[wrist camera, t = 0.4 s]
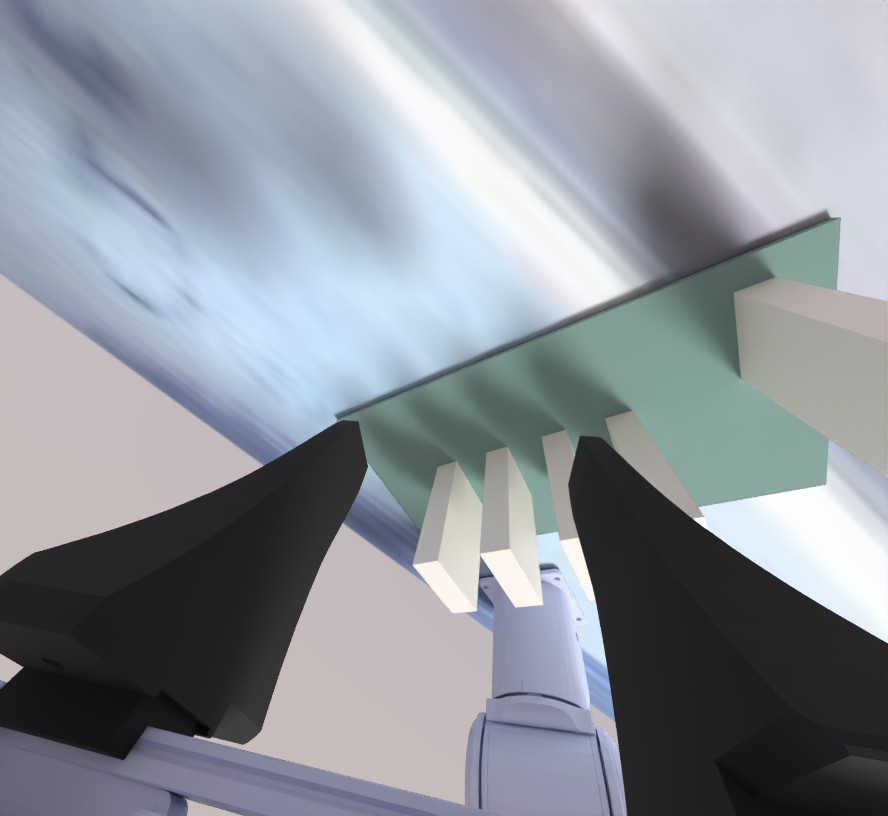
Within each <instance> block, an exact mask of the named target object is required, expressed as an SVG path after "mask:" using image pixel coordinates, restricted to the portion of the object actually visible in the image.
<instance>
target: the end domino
mask: <svg viewBox="0 0 888 816" xmlns="http://www.w3.org/2000/svg"><path fill="white" fill-rule="evenodd" d="M482 509H483V504H482V503H481V501H480V499H479V498H478V496H477V494H476V493H475V491H474V489H473V488H472V486H471V484H470V483H469V481H468V479H467V478H466V476H465V474H464V473H463V471H462V469H461V468H460V466H459V464H458V463H457V461H456V462H452V463H449V464H445V465H442V466H438V468H437V472H436V476H435V480H434V484H433V487H432V491H431V495H430V499H429V503H428V507H427V511H426V514H425V518H424V522H423V526H422V530H421V534H420V538H419V541H418V545H417V549H416V553H415V557H414V561H413V566H414V567H415V569H416V570H417V571H418V572H419V573H420V575H421V576H422V577H423V578H424V579H425V581H426V582H427V583H428V584H429V585H430V587H431V588H432V589H433V590H434V591H435V593H436V594H437V595H438V596H439V597H440V599H441V600H442V601H443V602H444V603H445V605H446V606H447V607H448V608H449V609H450V611H451V612H452V613H462V612H473V611H477V598H478V583H479V567H480V554H479V552H480V538H481V523H482Z"/></svg>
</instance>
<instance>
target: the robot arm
mask: <svg viewBox="0 0 888 816" xmlns="http://www.w3.org/2000/svg"><path fill="white" fill-rule="evenodd" d="M367 468H368V465H367V460H366V455H365V450H364V445H363V440H362V436H361V431H360V426H359V421H349V420H341V421H339V422H337V423H335V424H334V425H332V426H330V427H328V428H327V429H325V430H323V431H322V432H320V433H319V434H317V435H315V436H314V437H312V438H310V439H309V440H307V441H306V442H304V443H302V444H301V445H299V446H297V447H296V448H294V449H293V450H291V451H289V452H288V453H286V454H284V455H282V456H281V457H279V458H277V459H275V460H273V461H272V462H270V463H268V464H266V465H265V466H263V467H261V468H259V469H258V470H256V471H254V472H252V473H250V474H248V475H246V476H244V477H243V478H240V479H238V480H236V481H234V482H232V483H230V484H228V485H226V486H224V487H221V488H219V489H217V490H215V491H213V492H211V493H208V494H206V495H203V496H201V497H199V498H196V499H194V500H191V501H189V502H186V503H184V504H182V505H179V506H177V507H174V508H172V509H169V510H167V511H164V512H161V513H159V514H156V515H153V516H150V517H148V518H145V519H142V520H139V521H136V522H133V523H130V524H127V525H125V526H122V527H119V528H116V529H113V530H110V531H106V532H103V533H100V534H97V535H93V536H90V537H87V538H83V539H80V540H77V541H73V542H70V543H67V544H63V545H60V546H57V547H54V548H50V549H47V550H43V551H39V552H35V553H33V554H32V555H30V556H28V557H26V558H25V559H23V560H22V561H20V562H19V563H17V564H16V565H14V566H13V567H12V568H10V569H9V570H7V571H6V572H5V573H3V574H2V575H1V576H0V654H2V655H4V656H5V657H7V658H9V659H11V660H12V661H14V662H16V663H17V664H19V665H21V666H22V667H23V669H21V670H20V671H19V672H18V673H17V674H16V675H15V676H14V677H13V678H12V679H11V680H10V681H9V682H7V683H6V682H4V681H1V680H0V816H187V812H188V805H187V801H186V800H185V799H187V800H191V801H194V802H198V803H201V804H205V805H208V806H212V807H215V808H219V809H223V810H226V811H229V812H233V813H236V814H240V815H243V816H888V643H886V642H884V641H883V640H881V639H879V638H877V637H876V636H874V635H872V634H870V633H869V632H867V631H865V630H863V629H862V628H860V627H858V626H857V625H855V624H853V623H851V622H850V621H848V620H846V619H844V618H843V617H841V616H839V615H838V614H836V613H834V612H832V611H831V610H829V609H827V608H825V607H824V606H822V605H821V604H819V603H817V602H816V601H814V600H812V599H811V598H809V597H807V596H806V595H804V594H802V593H801V592H799V591H797V590H796V589H794V588H793V587H791V586H789V585H788V584H786V583H785V582H783V581H782V580H780V579H779V578H777V577H776V576H774V575H772V574H771V573H769V572H768V571H766V570H765V569H763V568H762V567H760V566H758V565H757V564H755V563H754V562H752V561H751V560H749V559H748V558H746V557H745V556H744V555H742V554H741V553H739V552H738V551H736V550H735V549H733V548H732V547H730V546H729V545H728V544H726V543H725V542H724V541H722V540H721V539H719V538H718V537H717V536H715V535H714V534H713V533H711V532H710V531H708V530H707V529H706V528H704V527H703V526H702V525H700V524H699V523H698V522H696V521H695V520H694V519H693V518H691V517H690V516H689V515H687V514H686V513H685V512H684V511H683V510H681V509H680V508H679V507H678V506H676V505H675V504H674V503H673V502H672V501H670V500H669V499H668V498H667V497H666V496H664V495H663V494H662V493H661V492H660V491H659V490H657V489H656V488H655V487H654V486H653V485H652V484H651V483H650V482H648V481H647V480H646V479H645V478H644V477H643V476H642V475H641V474H640V473H639V472H637V471H636V470H635V469H634V468H633V467H632V466H631V465H630V464H629V463H628V462H627V461H626V460H625V459H624V458H623V457H622V456H621V455H620V454H618V453H617V452H616V451H615V450H614V449H613V448H612V447H611V446H610V445H609V444H608V443H607V442H606V441H605V440H604V439H602V438H601V437H593V436H579V441H578V445H577V449H576V453H575V457H574V461H573V466H572V470H571V474H570V478H569V482H568V488H569V496H570V503H571V509H572V515H573V519H574V523H575V526H576V530H577V534H578V537H579V541H580V544H581V548H582V552H583V555H584V559H585V562H586V566H587V569H588V573H589V576H590V580H591V584H592V587H593V592H594V596H595V600H596V604H597V610H598V616H599V621H600V627H601V632H602V638H603V644H604V650H605V656H606V662H607V668H608V675H609V681H610V687H611V694H612V701H613V708H614V715H615V722H616V729H617V736H618V744H619V752H620V759H619V755H618V751H617V748H616V745H615V742H614V741H613V739H612V738H611V737H610V736H609V735H608V734H607V733H606V730H605V729H604V728H603V727H596V736H595V730H594V724H593V720H592V714H591V711H590V710H589V705H590V697H589V690H588V684H587V679H586V673H585V668H584V662H583V657H582V651H581V646H580V640H579V635H578V629H577V627H585V626H586V625H587V623H586V620H585V618H584V616H583V614H582V612H581V610H580V608H579V606H578V604H577V602H576V600H575V598H574V596H573V594H572V593H571V591H570V589H569V587H568V585H567V583H566V581H565V579H564V577H563V575H562V573H561V571H560V570H558V569H548V570H540V578H541V587H542V597H543V605H538V606H527V607H516V608H515V606H514V605H513V603H512V602H511V600H510V599H509V597H508V596H507V594H506V593H505V591H504V590H503V588H502V587H501V585H500V584H499V582H498V581H497V579H496V578H495V577H488V578H481V579H480V580H479V585H480V586H481V588H482V589H483V591H484V592H485V593H486V595H487V596H488V598H489V599H490V600H491V602H492V603H493V605H494V622H493V668H492V670H493V671H492V699H489V698H488V699H487V703H486V713H484V712H482V713H479V714H478V716H477V718H476V719H475V721H474V722H473V724H472V726H471V728H470V732H469V737H468V744H467V753H466V766H465V805H462V804H457V803H453V802H450V801H445V800H441V799H437V798H434V797H430V796H426V795H422V794H417V793H414V792H409V791H405V790H401V789H397V788H393V787H389V786H385V785H381V784H377V783H373V782H369V781H365V780H361V779H357V778H353V777H349V776H345V775H341V774H337V773H333V772H329V771H325V770H321V769H317V768H313V767H309V766H305V765H301V764H297V763H293V762H289V761H285V760H281V759H277V758H273V757H269V756H265V755H261V754H257V753H253V752H249V751H245V750H241V749H237V748H233V747H229V746H225V745H221V744H217V743H213V742H209V741H205V740H201V739H197V738H193V737H194V735H197V736H202V737H206V738H211V737H214V738H218V739H222V740H226V741H230V742H234V743H238V744H242V745H243V744H246V743H248V742H249V741H250V740H252V739H253V738H254V737H255V736H256V735H257V734H258V733H259V732H260V731H261V730H262V726H263V723H264V720H265V716H266V713H267V710H268V707H269V704H270V701H271V698H272V695H273V692H274V689H275V686H276V682H277V679H278V676H279V673H280V670H281V667H282V664H283V662H284V659H285V656H286V653H287V650H288V647H289V645H290V642H291V639H292V636H293V633H294V631H295V628H296V625H297V623H298V620H299V618H300V615H301V612H302V610H303V607H304V604H305V602H306V599H307V597H308V594H309V591H310V589H311V587H312V585H313V582H314V580H315V577H316V575H317V573H318V570H319V568H320V565H321V563H322V561H323V559H324V557H325V555H326V553H327V551H328V549H329V547H330V545H331V543H332V541H333V540H334V538H335V536H336V534H337V532H338V530H339V528H340V527H341V525H342V523H343V521H344V519H345V517H346V515H347V514H348V512H349V510H350V508H351V506H352V504H353V502H354V500H355V498H356V496H357V494H358V492H359V490H360V487H361V485H362V482H363V479H364V476H365V474H366V471H367ZM596 739H597V741H596ZM620 760H621V763H620Z"/></svg>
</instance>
